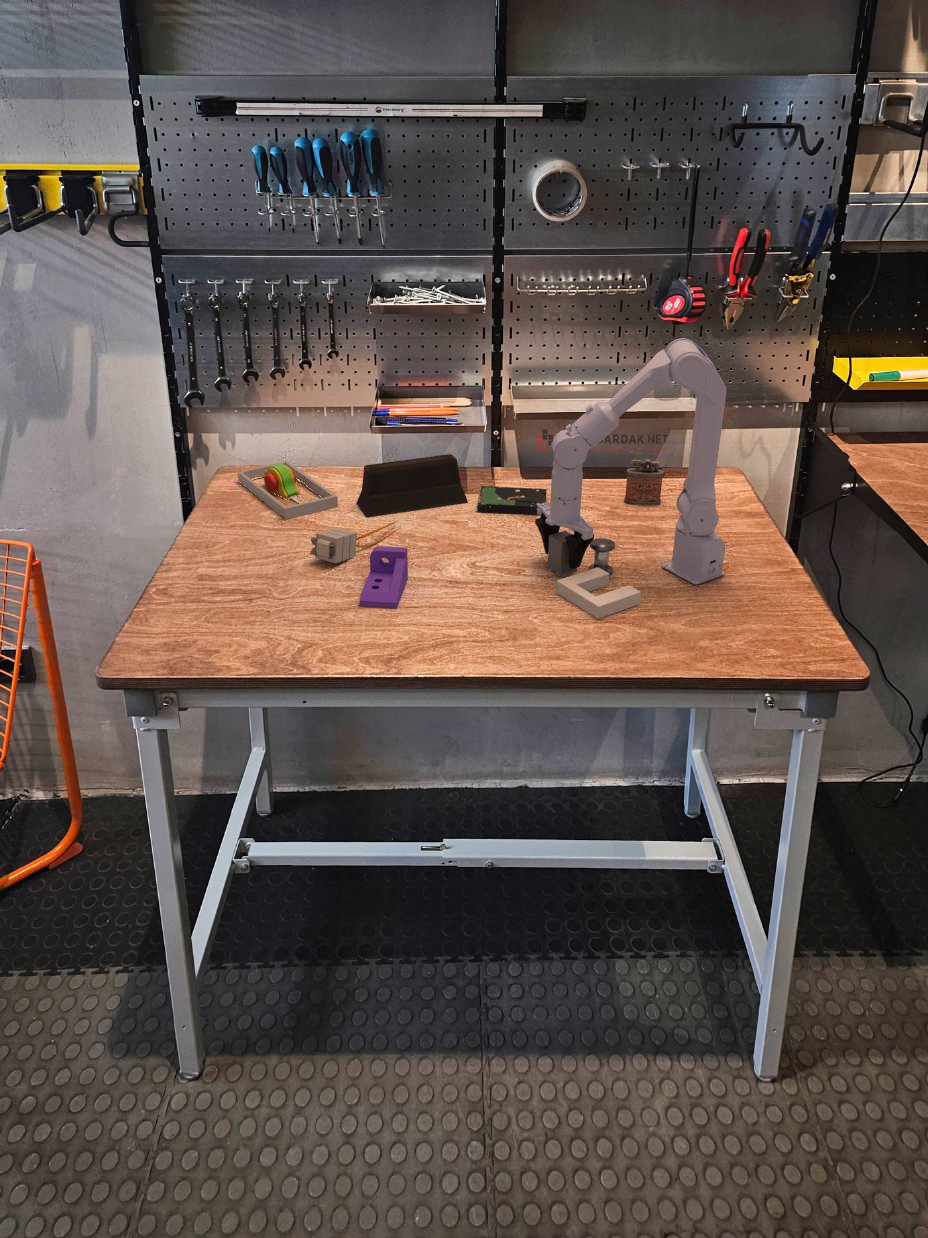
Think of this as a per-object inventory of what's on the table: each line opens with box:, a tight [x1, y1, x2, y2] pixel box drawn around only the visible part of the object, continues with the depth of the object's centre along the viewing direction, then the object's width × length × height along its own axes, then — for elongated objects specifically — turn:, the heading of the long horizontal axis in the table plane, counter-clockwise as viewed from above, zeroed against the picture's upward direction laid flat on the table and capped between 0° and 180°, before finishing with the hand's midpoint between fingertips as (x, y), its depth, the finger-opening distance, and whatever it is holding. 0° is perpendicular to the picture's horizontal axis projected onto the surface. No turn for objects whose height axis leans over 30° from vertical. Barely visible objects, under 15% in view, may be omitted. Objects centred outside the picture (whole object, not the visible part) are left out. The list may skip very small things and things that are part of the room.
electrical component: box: [309, 520, 402, 564], centre depth 206 cm, size 24×6×5 cm, turn 150°
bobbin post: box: [587, 537, 616, 577], centre depth 195 cm, size 5×5×6 cm
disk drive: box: [476, 485, 547, 516], centre depth 225 cm, size 10×3×15 cm
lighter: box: [623, 458, 665, 507], centre depth 224 cm, size 8×3×10 cm, turn 84°
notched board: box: [555, 567, 642, 620], centre depth 187 cm, size 12×10×2 cm
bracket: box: [359, 545, 409, 609], centre depth 188 cm, size 12×7×7 cm, turn 173°
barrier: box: [355, 453, 469, 519], centre depth 224 cm, size 24×9×10 cm, turn 111°
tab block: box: [547, 530, 578, 576], centre depth 196 cm, size 4×4×7 cm
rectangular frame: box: [237, 460, 339, 520], centre depth 230 cm, size 26×13×2 cm, turn 34°
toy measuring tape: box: [262, 464, 308, 504], centre depth 227 cm, size 6×20×7 cm, turn 43°
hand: (562, 559), depth 197 cm, fingers open, 7 cm apart
